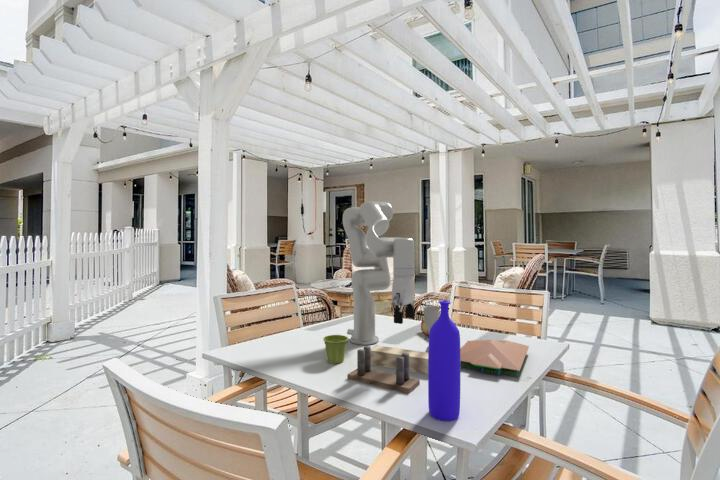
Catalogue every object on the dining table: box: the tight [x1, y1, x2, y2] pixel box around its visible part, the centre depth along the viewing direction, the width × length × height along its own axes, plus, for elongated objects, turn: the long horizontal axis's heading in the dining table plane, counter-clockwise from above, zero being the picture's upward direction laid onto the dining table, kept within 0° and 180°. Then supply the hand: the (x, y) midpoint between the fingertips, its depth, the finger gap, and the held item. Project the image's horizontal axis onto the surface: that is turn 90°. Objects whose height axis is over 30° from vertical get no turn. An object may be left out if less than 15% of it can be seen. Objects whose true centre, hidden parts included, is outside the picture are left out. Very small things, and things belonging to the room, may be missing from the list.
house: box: [460, 339, 530, 378], centre depth 141 cm, size 23×33×8 cm
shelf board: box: [371, 345, 428, 375], centre depth 135 cm, size 24×6×6 cm, turn 64°
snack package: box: [420, 318, 429, 336], centre depth 173 cm, size 21×7×7 cm, turn 12°
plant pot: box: [322, 334, 349, 365], centre depth 141 cm, size 9×9×9 cm
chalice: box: [422, 305, 441, 353], centre depth 151 cm, size 7×7×18 cm
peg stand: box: [347, 345, 421, 394], centre depth 122 cm, size 22×8×10 cm, turn 59°
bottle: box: [427, 299, 461, 422], centre depth 100 cm, size 8×8×30 cm
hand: (404, 320), depth 135 cm, fingers open, 9 cm apart
